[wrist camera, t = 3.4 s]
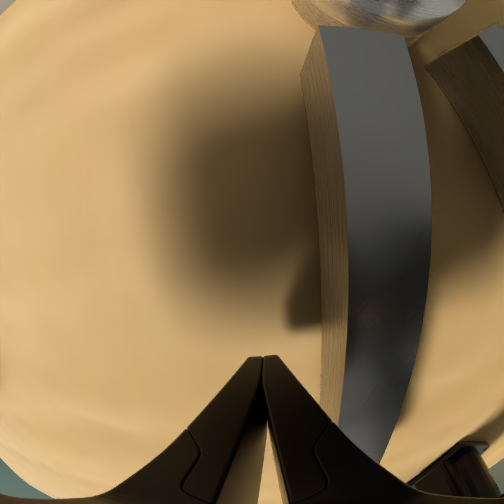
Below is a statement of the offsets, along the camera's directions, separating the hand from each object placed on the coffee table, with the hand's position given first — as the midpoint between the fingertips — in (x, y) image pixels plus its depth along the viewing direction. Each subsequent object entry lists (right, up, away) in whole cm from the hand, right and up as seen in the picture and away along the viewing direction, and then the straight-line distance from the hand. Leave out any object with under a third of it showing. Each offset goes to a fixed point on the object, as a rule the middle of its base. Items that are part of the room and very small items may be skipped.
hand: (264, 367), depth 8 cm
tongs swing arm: (+4, +3, 0) cm, 5 cm away
